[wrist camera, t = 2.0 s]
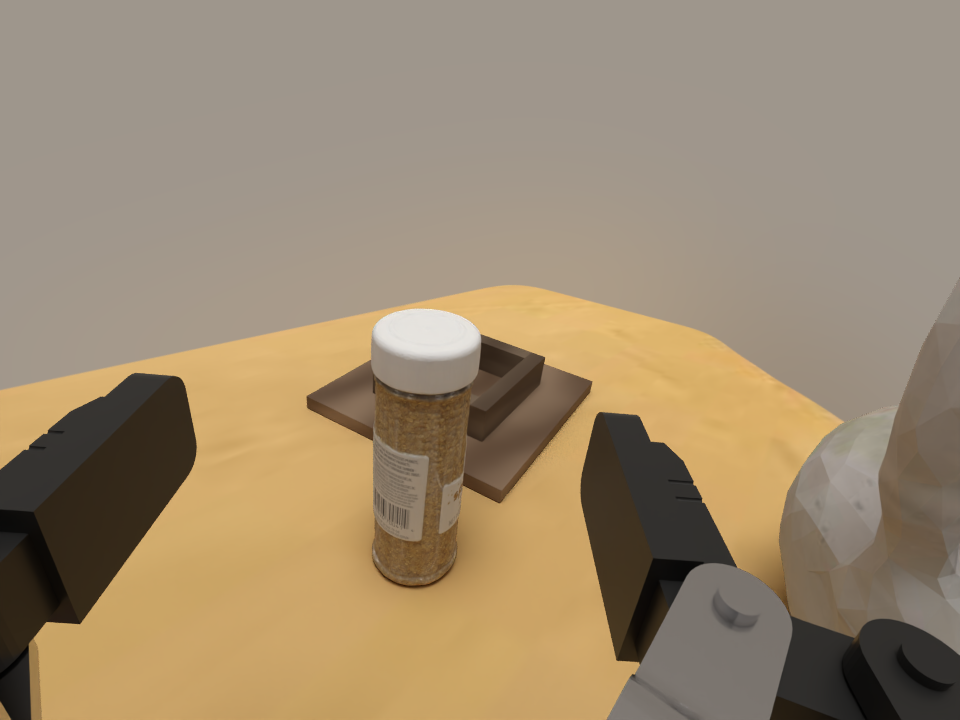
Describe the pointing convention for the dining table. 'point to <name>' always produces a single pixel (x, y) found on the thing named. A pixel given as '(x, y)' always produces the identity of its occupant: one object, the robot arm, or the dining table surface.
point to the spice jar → (420, 439)
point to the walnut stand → (480, 412)
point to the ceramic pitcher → (884, 507)
